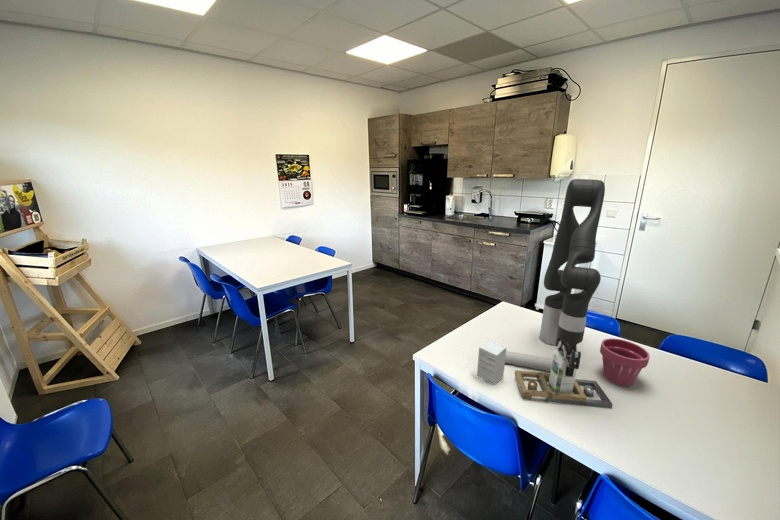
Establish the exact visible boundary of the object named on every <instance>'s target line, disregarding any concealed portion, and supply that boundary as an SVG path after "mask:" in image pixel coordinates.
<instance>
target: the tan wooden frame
mask: <svg viewBox="0 0 780 520" xmlns="http://www.w3.org/2000/svg"><path fill="white" fill-rule="evenodd" d="M514 371H515V372H514V375H515V378H516V381H517V383H518V386H519V388H520V393H521V395H522V396H523V397H524V400H525V401H532V398H542V399H546V398H552V399H562V400H572V401H582V402H586V401H587V399H588V398H587V396H585V394H584V392H583V391H584V390H582V388H581V386H580V385H579V384H578V383H577V381H576V380H575V381H574V386H573V388H574V390H575V392H576V393H577V394H574V393H572V394H570V393H559V392H552V391H551V389H550V388H549V385H548V383H547V381H546V379H549V377H550V373H549V372H543V371H541V372H540V371H527V370H517V369H514ZM525 378H533V380H532V379H530V380H528V382H527V387H526V383H525V381H524V380H525ZM537 378H539V380H540V382H541V385H542V387H543V389H544V391H542V390H538V381H535V380H534V379H537Z"/></svg>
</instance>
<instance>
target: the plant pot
mask: <svg viewBox="0 0 780 520" xmlns="http://www.w3.org/2000/svg"><path fill="white" fill-rule="evenodd" d="M599 352H600V355H601V357H602V359H601V360H602V373H603V377H604V378H605V379H606V380H608V381H609V382H610V383H613V384H615V385H618V386H622V387H630V386H633V383H635V380H636V379H637V378H638V377H639V376H638V375H640V373H641V371H642V369H644V368H646V367H648V364H649V360H650V357H651V355H650V353H649V352H648V350H646V349H645V348H644V347H642V346H640V345H638V344H636V343H633V342H631V341H628V340H625V339H621V338H605V339H603V340H602V341H601V345H600V347H599Z"/></svg>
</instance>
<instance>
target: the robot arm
mask: <svg viewBox="0 0 780 520" xmlns="http://www.w3.org/2000/svg"><path fill="white" fill-rule="evenodd" d="M605 186H606V185H605V182H604V181H603V180H601V179H589V178H588V179H587V178H573V179H571V180H570V182H569V183H568V185H567V187H566V192H565V197H564V201H563V202H564V203H563V207H562V213H561V218H560V222H559V225H558V229H557V232H556V234H555V238H554V243H553V248H552V252H551V256H550V260H549V263H548V266H547V268H546V270H545V274H544V278H543V287H544V288H545V290H547V291H553V292H557V293H554V294H549V295H547V296H545V297H544V298H545V299H544V304H543V311H542V317H541V325H540V331H539V340H540V341H541V342H543V343H545V344H547V345H550V346H551V345H553V346H555V347H556V351H563V352H564V358H565V359H566V363H567V366H566V371H565V375H566V376H569V377H572V376H573V373H574V369H577V370H579V369H580V363H581V357H582V352H581V351H578V347H577V345H578V344H580V343H582V342H583V340H584V336H585V335H584V334H585V331H586V330H585V329H586V325H587V315H588V309H589V306H590V305H589V304H590V302H591V299H592V298H593V296H594V294H595V293H596V291H597V289H598V288H599V285H600V284H601V279H602V278H601V273H600V272H599V270H597V269H595V268H590V267H581V266H577V265H580V264H582V265H583V264H588V263H589V264H590V263H591V262H593V261H594V259H595V255H596V239H597V232H598V227H599V224H600V219H601V215H602V209H603V204H604V200H605V191H606V187H605ZM575 207H581V208H582V207H585V208H590V210H589V212H588V215H587V216H586V217H585V218H584V220H583V221H582V222H581V223H579V221H578V220H577V218H576V215H575V212H574V208H575ZM563 265H565V266H564V268H563V269H560V268H561V267H562V266H563ZM573 289H574V290H580V291H581V292H577V293H576V292H575V293H572V291H573ZM567 355H571V357H568V356H567ZM569 359H570V363H569Z"/></svg>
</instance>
